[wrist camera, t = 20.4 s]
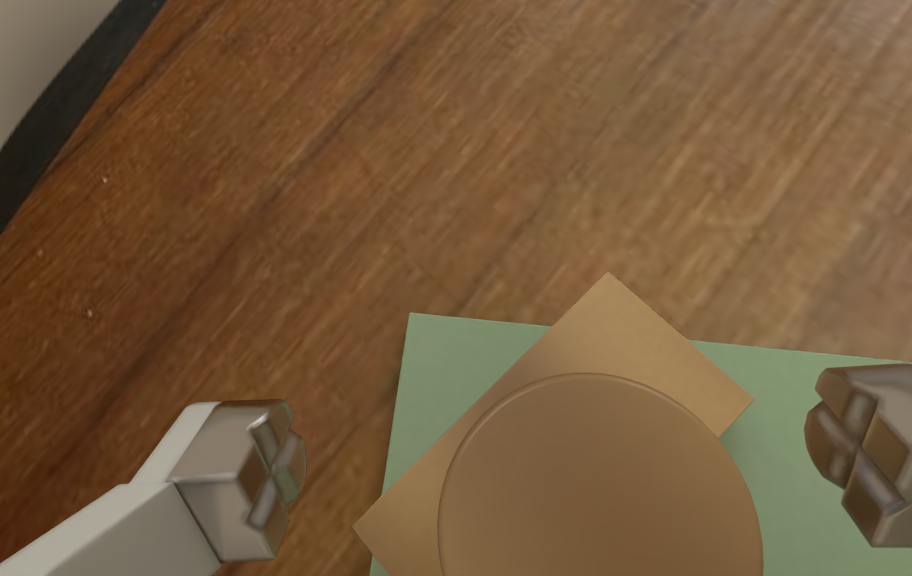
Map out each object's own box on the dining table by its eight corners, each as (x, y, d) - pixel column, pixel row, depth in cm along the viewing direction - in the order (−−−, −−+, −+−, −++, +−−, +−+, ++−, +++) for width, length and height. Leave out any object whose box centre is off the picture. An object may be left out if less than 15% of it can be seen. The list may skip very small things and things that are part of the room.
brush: (488, 642, 15) (372, 1337, 4) (380, 509, 16) (47, 701, 5) (714, 403, 16) (1200, 346, 4) (594, 295, 17) (729, 41, 6)
